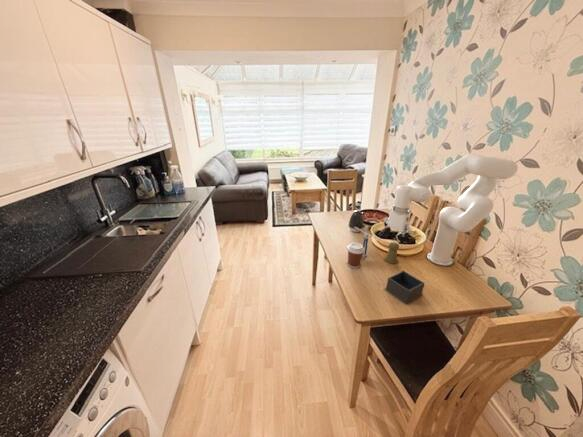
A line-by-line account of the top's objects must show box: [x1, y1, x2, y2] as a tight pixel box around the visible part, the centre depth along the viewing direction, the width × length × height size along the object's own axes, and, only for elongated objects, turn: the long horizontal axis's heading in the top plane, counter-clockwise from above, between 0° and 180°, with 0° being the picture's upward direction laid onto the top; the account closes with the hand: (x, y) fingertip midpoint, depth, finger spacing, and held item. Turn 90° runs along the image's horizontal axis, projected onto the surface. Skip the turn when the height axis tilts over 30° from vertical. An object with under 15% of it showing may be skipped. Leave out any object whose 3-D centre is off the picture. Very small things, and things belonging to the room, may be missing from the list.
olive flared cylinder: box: [384, 241, 400, 264], centre depth 133 cm, size 6×6×11 cm
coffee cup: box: [346, 242, 365, 269], centre depth 129 cm, size 9×9×12 cm
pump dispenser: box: [348, 210, 366, 233], centre depth 167 cm, size 10×10×15 cm
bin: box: [385, 270, 425, 305], centre depth 110 cm, size 11×11×7 cm
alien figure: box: [355, 225, 380, 259], centre depth 136 cm, size 20×5×19 cm, turn 30°
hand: (394, 238), depth 130 cm, fingers open, 9 cm apart
